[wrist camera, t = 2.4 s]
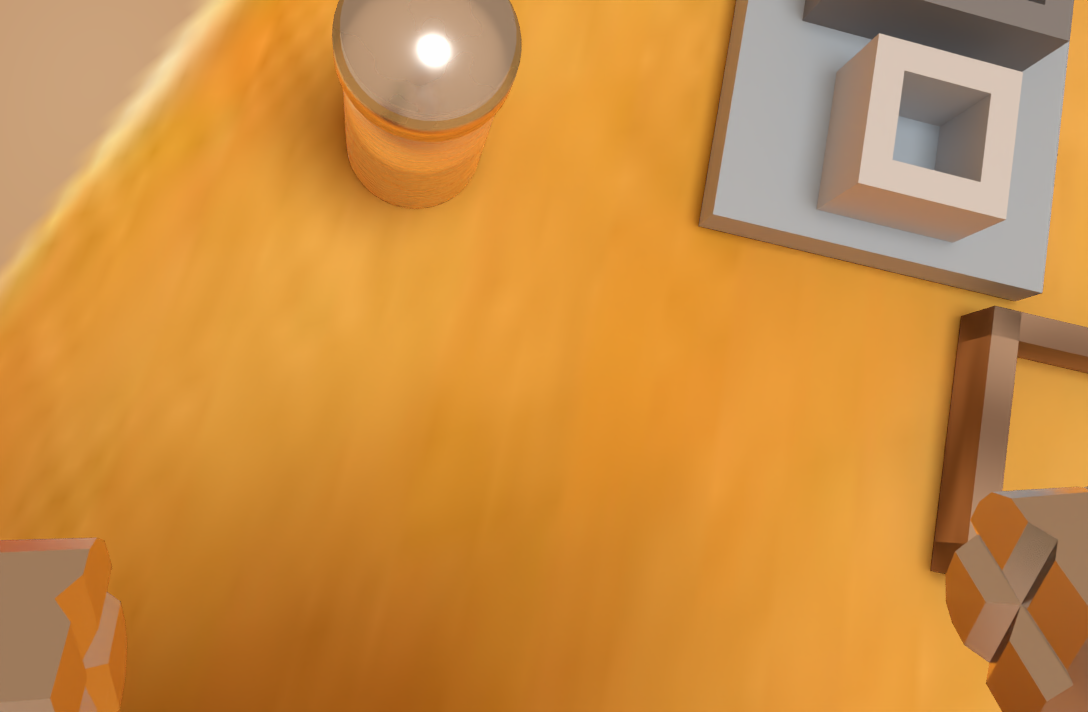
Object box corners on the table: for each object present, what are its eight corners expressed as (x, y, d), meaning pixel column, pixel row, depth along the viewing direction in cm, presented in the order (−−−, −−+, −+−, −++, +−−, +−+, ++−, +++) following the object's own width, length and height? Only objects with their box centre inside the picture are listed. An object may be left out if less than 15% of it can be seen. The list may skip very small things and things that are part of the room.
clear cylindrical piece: (470, 229, 34) (504, 141, 26) (325, 195, 33) (312, 95, 25) (498, 94, 35) (540, -33, 27) (357, 59, 34) (354, -83, 26)
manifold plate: (1015, 301, 37) (1102, 274, 33) (698, 226, 35) (745, 187, 31) (1060, -99, 40) (1146, -173, 35) (767, -186, 38) (820, -275, 34)
